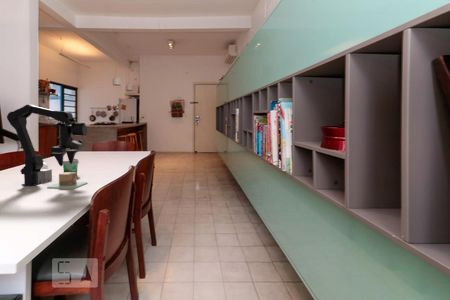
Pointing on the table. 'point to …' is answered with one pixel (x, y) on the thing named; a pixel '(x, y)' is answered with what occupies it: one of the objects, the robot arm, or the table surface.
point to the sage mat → (67, 186)
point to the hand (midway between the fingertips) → (66, 164)
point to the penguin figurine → (45, 166)
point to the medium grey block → (45, 175)
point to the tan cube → (67, 179)
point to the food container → (70, 166)
